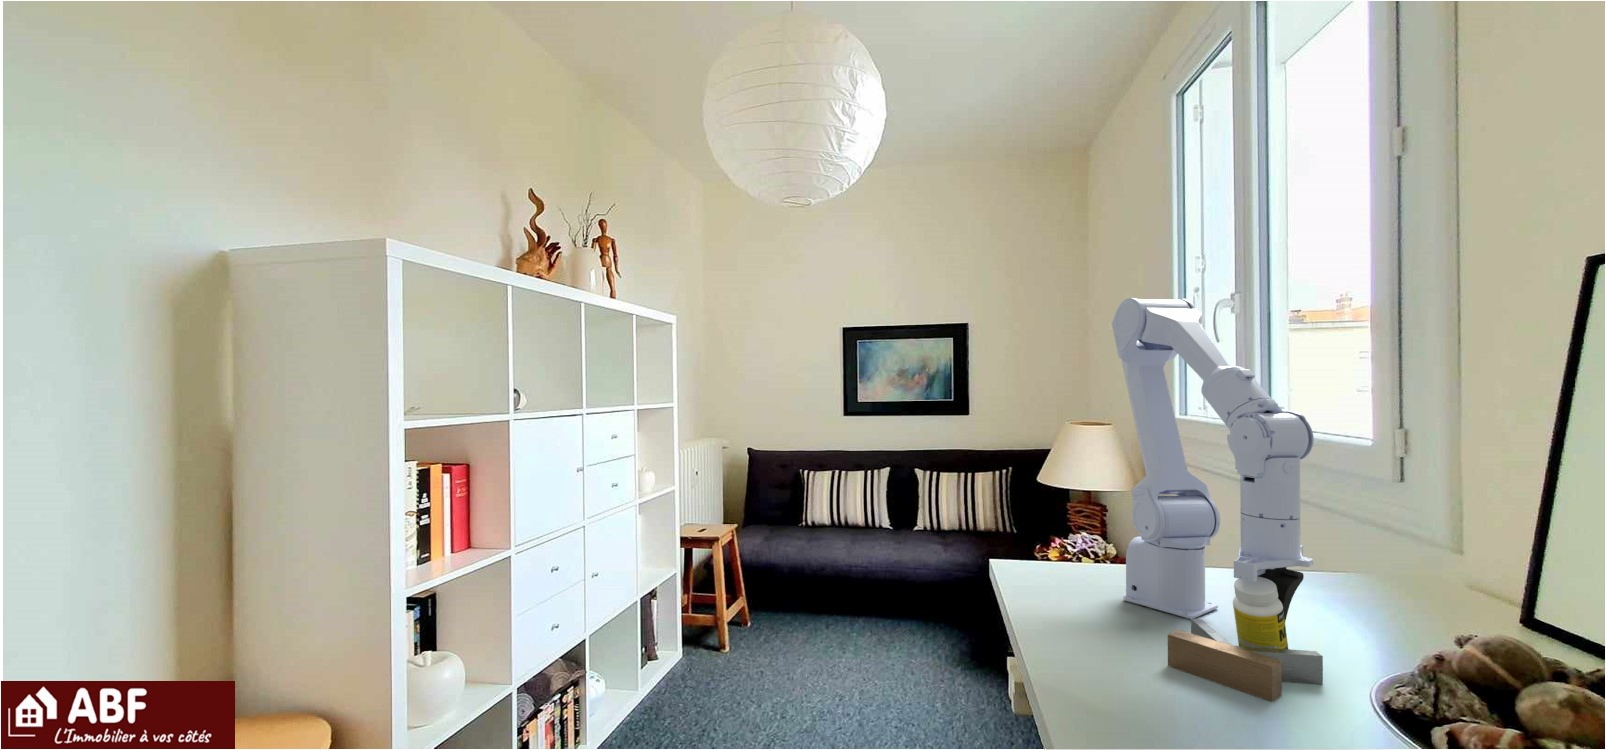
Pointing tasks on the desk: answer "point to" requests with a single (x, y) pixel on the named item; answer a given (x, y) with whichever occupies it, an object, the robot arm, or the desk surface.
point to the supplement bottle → (1259, 614)
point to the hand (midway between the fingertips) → (1270, 631)
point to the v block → (1241, 662)
